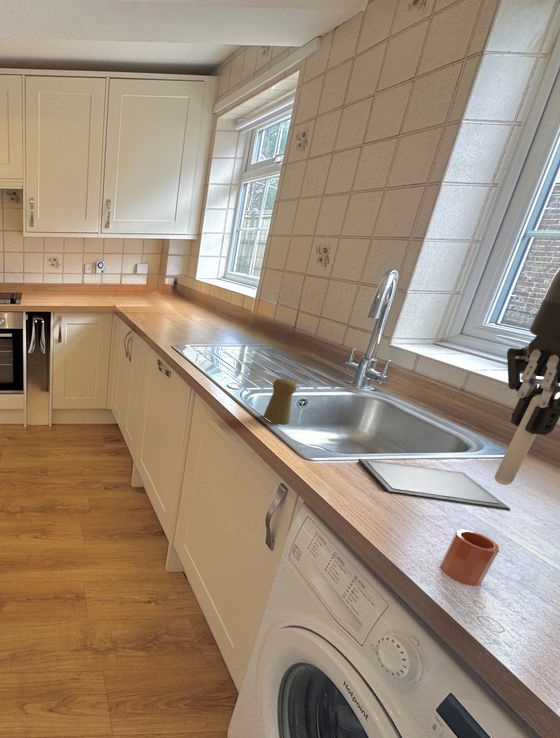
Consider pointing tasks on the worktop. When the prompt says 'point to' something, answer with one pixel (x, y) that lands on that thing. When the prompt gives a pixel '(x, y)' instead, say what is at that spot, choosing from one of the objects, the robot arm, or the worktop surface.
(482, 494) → the tablet
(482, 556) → the pen cup
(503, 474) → the beige wooden rod
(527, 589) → the worktop surface
